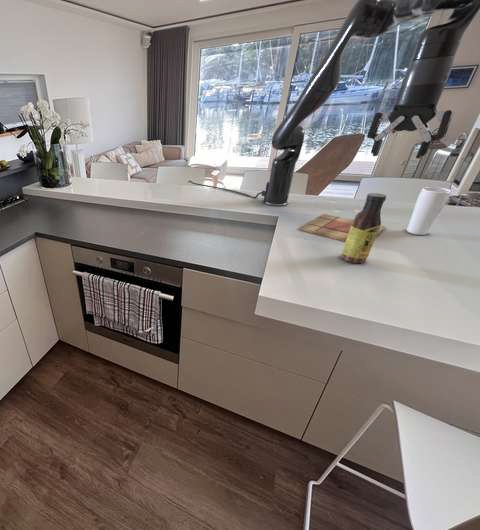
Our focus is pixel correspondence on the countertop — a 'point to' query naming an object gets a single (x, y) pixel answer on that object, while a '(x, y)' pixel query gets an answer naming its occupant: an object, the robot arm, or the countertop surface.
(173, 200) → the countertop surface
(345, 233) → the board
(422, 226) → the drinking glass
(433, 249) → the countertop surface
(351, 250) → the sauce bottle
